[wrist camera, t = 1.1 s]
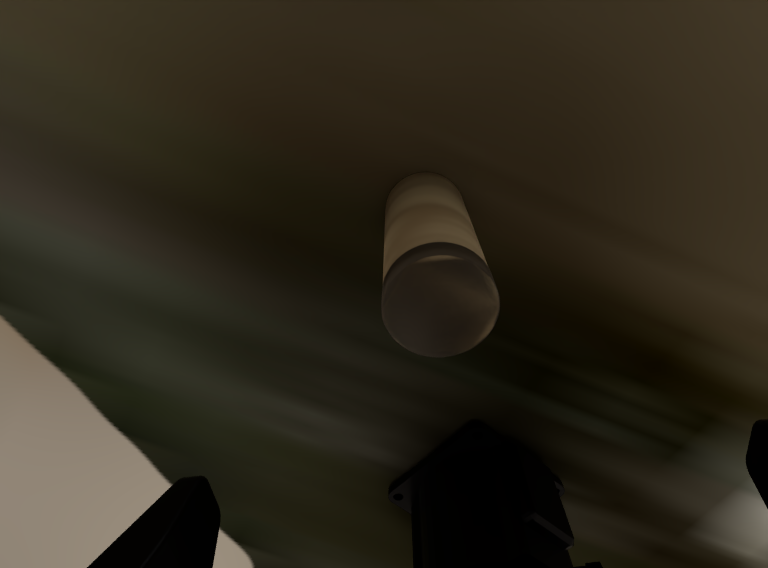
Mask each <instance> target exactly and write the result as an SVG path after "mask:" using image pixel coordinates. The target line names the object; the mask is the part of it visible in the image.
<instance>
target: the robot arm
mask: <svg viewBox="0 0 768 568" xmlns="http://www.w3.org/2000/svg"><path fill="white" fill-rule="evenodd" d="M474 432H480V433H478V434H474ZM746 465H747V469H748V472H749V474H750V476H751V478H752V480H753V482H754V484H755V486H756V488H757V489H758V491H759V493H760V495H761V497H762V499H763V501H764V503H765V505H766V507H767V509H768V419H762V420H758V421H756V422H755V423H754V424H753V427H752V431H751V436H750V440H749V445H748V450H747V454H746ZM564 492H565V491H564V487H563V484H562V482H561V481H560V480H559V479H558V478H557V477H555V476H554V475H553V474H552V473H551V470H550V469H549V468H548V467H547V466H545V465H544V464H543V463H541V462H540V461H539V460H537V459H536V458H535V457H533V456H532V455H530V454H529V453H528V452H526V451H525V450H524V449H522V448H521V447H520V446H518V445H516V444H512V443H509V442H508V441H507V440H505V439H504V438H502V437H501V436H500V435H498V434H497V433H496V432H494V431H493V430H492V429H490V428H489V427H488V426H486V425H485V424H483V423H481V422H472V423H470V424H468V425H467V426H466V427H465V428H463V429H462V430H461V431H460V432H458V433H457V434H456V435H454V436H453V437H452V438H451V439H449V440H448V441H447V442H446V443H444V444H443V445H442V446H441V447H439V448H438V449H437V450H436V451H434V452H433V453H432V454H431V455H429V456H428V457H427V458H425V459H424V460H423V461H422V462H420V463H419V464H418V465H417V466H415V467H414V468H413V469H412V470H410V471H409V472H408V473H407V474H405V475H404V476H403V477H401V478H400V479H399V480H398V481H396V482H395V483H394V484H393V485H391V486H390V488H389V491H388V498H389V500H390V501H391V502H392V503H394V504H396V505H397V506H399V507H400V508H402V509H403V510H405V511H407V512H408V513H410V514H411V516H412V541H413V566H414V568H603V567H602V565H601V563H600V562H591V563H585V566H579V567H573V565H572V562H571V559H570V556H569V553H568V549H569V548H571V547H573V546H574V537H573V534H572V531H571V528H570V525H569V522H568V519H567V516H566V513H565V511H564V508H563V505H562V502H561V499H560V497H561V496H562V495H563V494H564ZM397 493H400V494H397ZM219 526H220V509H219V506H218V503H217V501H216V498H215V496H214V494H213V491H212V489H211V486H210V484H209V482H208V480H207V478H205V477H204V476H192V477H183V478H181V479H179V480H178V481H176V482H175V483H174V484H173V485H172V486H171V487H170V488H169V489H168V490H167V491H166V492H165V493H164V494H163V495H162V496H161V497H160V498H159V499H158V500H157V501H156V502H155V503H154V504H153V505H151V506H150V508H148V509H147V510H146V511H145V512H144V513H143V514H142V515H141V516H140V517H139V518H138V519H137V520H136V521H135V522H134V523H133V524H132V525H131V526H130V527H129V528H128V529H127V530H126V531H125V532H123V533H122V534H121V535H120V537H118V538H117V539H116V540H115V541H114V542H113V543H112V544H111V545H110V546H109V547H108V548H107V549H106V550H105V551H104V552H103V553H102V554H101V555H100V556H99V557H98V558H97V559H95V560H94V561H93V563H91V565H89V566H88V567H87V568H212V567H213V561H214V556H215V550H216V544H217V538H218V532H219Z"/></svg>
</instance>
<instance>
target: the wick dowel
mask: <svg viewBox="0 0 768 568" xmlns="http://www.w3.org/2000/svg"><path fill="white" fill-rule="evenodd" d="M499 310H500V298H499V292H498V289H497V287H496V284H495V281H494V279H493V276H492V273H491V271H490V269H489V267H488V265H487V262H486V260H485V257H484V254H483V252H482V249H481V247H480V244H479V241H478V239H477V236H476V233H475V231H474V228H473V225H472V223H471V220H470V217H469V215H468V212H467V209H466V207H465V204H464V202H463V199H462V196H461V194H460V192H459V190H458V189H457V187H456V186H455V185H454V184H453V183H452V182H451V181H450V180H449V179H447V178H446V177H444V176H442V175H439V174H436V173H431V172H421V173H415V174H412V175H410V176H407V177H405V178H404V179H402V180H401V181H399V182H398V183H397V184H396V185H395V186H394V188H393V189H392V190H391V192H390V194H389V196H388V198H387V202H386V207H385V235H384V265H383V286H382V302H381V312H382V318H383V322H384V325H385V327H386V329H387V331H388V332H389V334H390V335H391V336H392V338H393V339H394V340H395V341H396V342H397V343H398V344H400V345H401V346H402V347H404V348H405V349H407V350H409V351H411V352H413V353H416V354H419V355H423V356H428V357H449V356H454V355H458V354H461V353H464V352H466V351H468V350H470V349H472V348H473V347H475V346H477V345H478V344H479V343H481V342H482V341H483V340H484V339H485V338H486V337H487V336H488V334H489V333H490V332H491V331H492V329H493V327H494V326H495V323H496V321H497V319H498V315H499Z"/></svg>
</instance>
